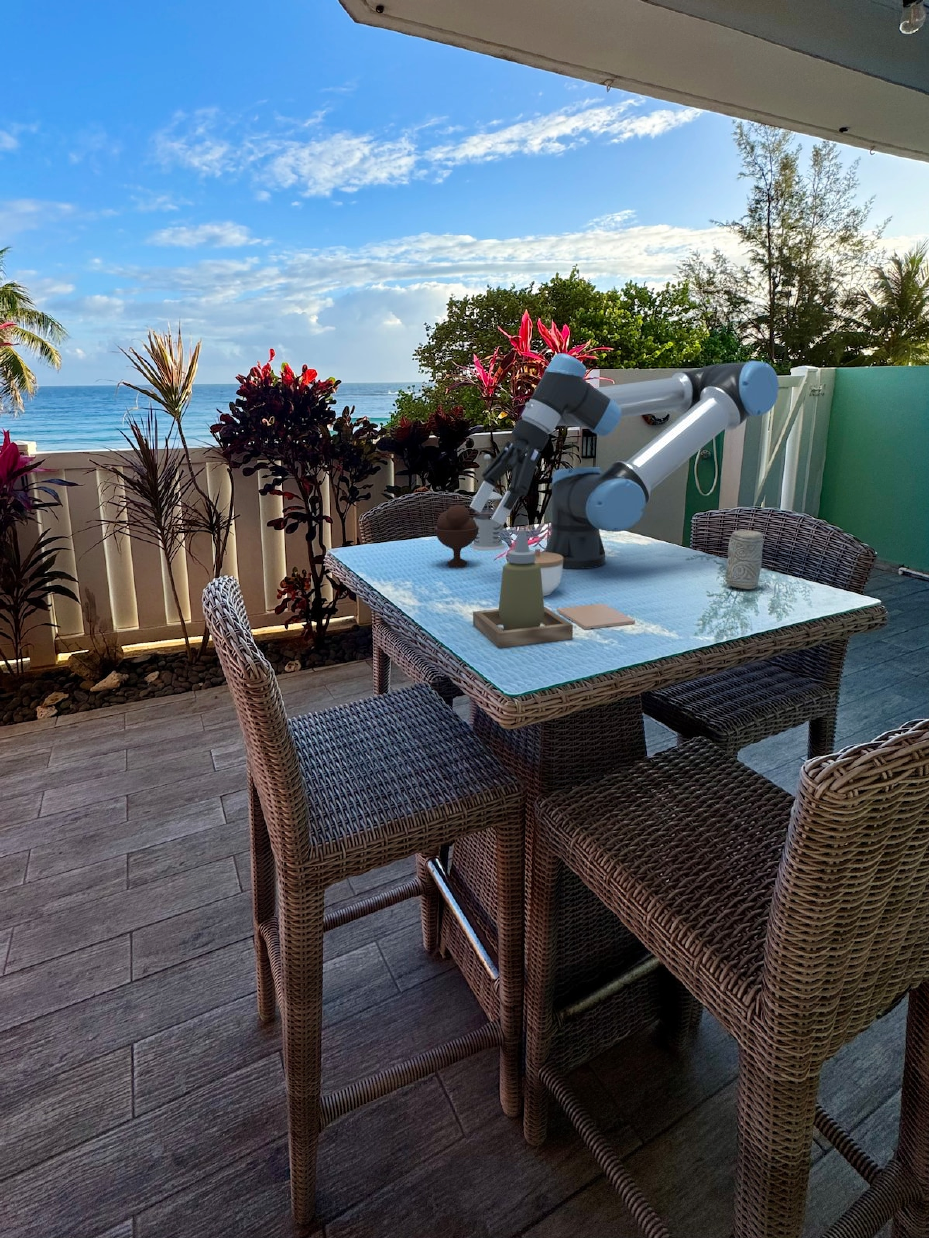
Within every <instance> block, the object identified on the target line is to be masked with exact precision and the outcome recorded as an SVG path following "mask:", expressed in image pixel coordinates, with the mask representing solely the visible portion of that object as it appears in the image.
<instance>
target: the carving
mask: <svg viewBox="0 0 929 1238" xmlns="http://www.w3.org/2000/svg"><path fill="white" fill-rule="evenodd" d="M763 543H764V535H763V533H762V532H759V531H756V530H745V529H744V530H743V529H741V530H735V531H732V534H731V535H730V537H729V543H728V546H727V549H728V550H727V557H728V558H726V567H725V575H724V577H725V578H724V579H725V583H726V585H727V586H729V587H733V588H738V589H743V590H755V589H756V588H757V587H758V586H757V585H758V584H759V579H760V576H761V575H760V574H761V569H762V564H763V560H762V559H763V546H764V544H763Z"/></svg>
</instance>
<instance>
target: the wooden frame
mask: <svg viewBox="0 0 929 1238" xmlns="http://www.w3.org/2000/svg"><path fill="white" fill-rule="evenodd" d="M541 624H543V625H542V626H541V625H540V626H539V627H531V628H522V629H514V630H503V629H501V628H500V627H499V626H498V625H503V624H502V621H501V618H500V615H499V608H495V609H486V610H485V609H484V610H477V611H473V612H472V625H473V626H474V627H475V628H476V629H477V630H478V631H479V632H481V633H482V635H484V636H485V637H486V638H487V639H488V640H489V641H491V642H492V643H493V645H495V646H496V647H497V648H498V649H500V648H501V649H503V648H509V647H510V648H511V647H519V646H526V645H534V644H542V643H550V642H559V641H565V640H567V641H568V640H573V637H574V636H573V634H574V633H573V632H574V630H573V629H574V625H573V624H572V623H571V622H569V620H566V619H564V618H563V617H561V616H560V615H558V614H557V613H556V612H553V611H552V610H550V609H549V608H547V607H546V606H544V616H543V618H542V621H541Z"/></svg>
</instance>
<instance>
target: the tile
mask: <svg viewBox="0 0 929 1238" xmlns="http://www.w3.org/2000/svg"><path fill="white" fill-rule="evenodd" d="M556 612H557V613H558V614H559V615H561V616H563V617H564V616H565V617H564V618H566V619H567V620H569V619H570V620H569V621H571V622H572V621H573V622H572V623H574V624H575V623H576V624H575V625H577V624H578V625H577V626H579V627H580V626H581V627H580V628H581V629H583V628H584V629H583V630H585V629H587V630H592V629H591V628H595V629H600V628H599V627H604V628H607V627H606V626H612V627H619V626H626V625H625V624H628V625H633V624H632V623H635V624H636V620H635V619H633V618H631V617H629V616H628V615H626V614H625V613H621V612H620V611H618V610H616V609H615V608H612V607H611V606H609V605H607V604H605V603H603V602H602V603H595V604H585V605H576V606H568V607H567V606H566V607H557V608H556Z"/></svg>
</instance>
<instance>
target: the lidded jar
mask: <svg viewBox="0 0 929 1238" xmlns="http://www.w3.org/2000/svg"><path fill="white" fill-rule="evenodd" d="M534 551H535V563H537V564H538V565H539V566H540V567H541V578H542V590H543V597H547V596H550V595H551V594H553V593H552V592H554V590H556V588H557V587H558V586H559V584H560V582H561V580H562V575H563V569H564V568H563V559H564V558H563V556H561V555H559V554H556V553H550V552H545V551H541V548H535V549H534Z"/></svg>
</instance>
